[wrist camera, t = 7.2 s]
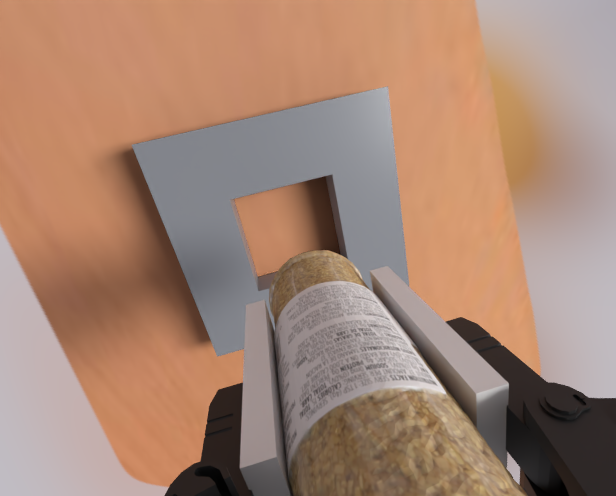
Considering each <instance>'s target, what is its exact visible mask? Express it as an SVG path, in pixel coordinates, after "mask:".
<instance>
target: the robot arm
mask: <svg viewBox="0 0 616 496" xmlns="http://www.w3.org/2000/svg"><path fill="white" fill-rule="evenodd" d="M370 275H371V281H372V288H373V293H374V294H375V295H376V296H378V298H379V299H380V300H381V301H382V302H383V304H384V305H385V306H386V308H387V309H388V310H389V311H390V313H391V314H392V315H393V316H394V318H395V319H396V320H397V322H398V323H399V324H400V325H401V327H402V328H403V329H404V331H405V332H406V333H407V334H408V336H409V337H410V338H411V340H412V341H413V342H414V343H415V345H416V346H417V347H418V348H419V350H420V352H421V355H422V356H423V357H424V359H425V360H426V362H427V363H428V365H429V366H430V367H431V368H432V370H433V371H434V373H435V374H436V375H437V376H438V378H439V379H440V380H441V382H442V383H443V385H444V386H445V388H446V389H447V391H448V392H449V393H450V394H451V395H452V396H453V398H454V399H455V400H456V401H457V402H458V403H459V405H460V406H461V407H462V410H463V411H464V412H465V413H466V414H467V415H468V416H469V418H470V419H471V421H472V422H473V424H474V425H475V427H476V428H477V430H478V431H479V433H480V434H481V436H482V437H483V438H484V439H485V441H486V442H487V444H488V446H489V447H490V448H491V449H492V450H493V452H494V453H495V454H496V456H497V457H498V458H499V459H500V461H501V462H502V463H503V465H504V466H505V467H507V451H508V452H509V454H510V455H511V456H512V458H513V459H514V460H515V461H516V462H517V464H518V465H519V466H520V486H521V487H522V488H523V489H524V491H525V492H526V494H527V495H528V496H616V398H588V397H587V396H585V395H584V394H583V393H581V392H579V391H577V390H575V389H573V388H571V387H568V386H565V385H561V384H557V383H548V382H546V381H545V380H544V379H542V378H541V377H540V376H539V375H538V374H537V373H535V372H534V371H533V370H532V369H531V368H529V367H528V366H527V365H526V364H525V363H523V362H522V361H521V360H520V359H519V358H517V357H516V356H515V355H514V354H513V353H511V352H510V351H509V350H508V349H507V348H506V347H504V346H502V345H501V343H500V342H498V341H497V340H496V339H495V338H494V337H491V336H490V334H489V333H488V332H486V331H485V330H484V329H483V328H482V327H480V326H479V325H478V324H476V323H474V322H471V321H469V320H467V319H465V318H462V317H460V318H457V319H453V320H450V321H446V322H445V321H444V320H443V319H442V318H441V317H440V316H439V315H438V314H437V313H436V312H434V311H433V310H432V309H431V308H430V307H429V306H428V305H427V304H426V303H425V302H424V301H423V300H422V299H421V298H420V297H419V296H418V295H417V294H416V293H415V292H414V291H413V290H412V289H411V288H410V287H409V286H408V285H407V284H406V283H405V282H403V281H402V280H401V279H400V278H399V277H398V276H397V275H396V274H395V273H394V272H393V271H392V270H391V269H390V268H389V267H388V266H385V267H382V268H378V269H375V270H371V271H370ZM274 333H275V331H274V328H273V325H272V322H271V318H270V315H269V312H268V309H267V305H266V302H265V300H262V301H258V302H255V303H251V304H248V305H246V318H245V344H244V370H243V383H240V384H236V385H233V386H230V387H226V388H223V389H219V390H218V391H217V393H216V395H215V397H214V398H213V400H212V402H211V404H210V406H209V412H208V419H207V425H206V431H205V438H204V444H203V450H202V456H201V462H198V463H195V464H193V465H192V466H190V467H189V468H187V469H186V470H184V471H183V472H181V474H180V475H179V476H178V477H177V478H176V479H175V480H174V481H173V483H172V484H171V485H170V487H169V488H168V490H167V492H166V494H165V496H293V494H292V491H291V488H290V485H289V481H288V471H287V461H286V451H285V441H284V431H283V421H282V412H281V403H280V393H279V384H278V374H277V364H276V355H275V345H274Z"/></svg>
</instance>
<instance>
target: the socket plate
mask: <svg viewBox="0 0 616 496" xmlns="http://www.w3.org/2000/svg"><path fill="white" fill-rule="evenodd" d="M132 147H133V150H134V152H135V155H136V157H137V159H138V162H139V164H140V167H141V169H142V172H143V174H144V177H145V179H146V182H147V184H148V187H149V189H150V192H151V194H152V196H153V199H154V201H155V204H156V206H157V209H158V211H159V214H160V216H161V219H162V221H163V224H164V226H165V229H166V231H167V233H168V236H169V238H170V241H171V243H172V246H173V248H174V251H175V253H176V256H177V258H178V261H179V263H180V266H181V268H182V270H183V273H184V275H185V278H186V280H187V283H188V285H189V288H190V290H191V293H192V295H193V298H194V300H195V303H196V305H197V307H198V310H199V312H200V315H201V317H202V320H203V322H204V325H205V327H206V330H207V332H208V335H209V337H210V340H211V342H212V344H213V347H214V349H215V352H216V354H217V356H221V355H224V354H228V353H231V352H235V351H238V350H242V349H244V344H245V318H246V305H248V304H251V303H255V302H258V301H262V300H265V302H266V305H267V309H268V312H269V315H270V318H271V322H272V325H273V328H274V331H275V323H274V317H273V315H272V313H271V310H270V303H269V289H270V286H271V283H272V281H273V279H274V276H275V274H276V273H277V272H275V273H271V274H267V275H263V276H260V277H258V276H257V273H256V270H255V266H254V263H253V260H252V257H251V253H250V250H249V247H248V244H247V240H246V237H245V234H244V231H243V227H242V224H241V221H240V218H239V214H238V211H237V208H236V205H235V201H234V199H235V198H239V197H243V196H247V195H251V194H255V193H259V192H263V191H267V190H271V189H275V188H279V187H283V186H287V185H291V184H295V183H299V182H303V181H307V180H311V179H315V178H319V177H324V176H326V181H327V186H328V192H329V197H330V202H331V207H332V213H333V218H334V223H335V228H336V233H337V239H338V244H339V249H340V254H341V255H342V256H344V257H345V258H347V259H348V260H349V261H351V262H352V263H353V264H354V266H355V267H356V268H357V269H358V270H359V272H360V274H361V276H362V279H363V281H364V282H365V284H366V285H367V286H368V288H369V289H370V290H371V291H372V292H373V288H372V281H371V275H370V271H371V270H375V269H378V268H382V267H385V266H388V267H389V268H390V269H391V270H392V271H393V272H394V273H395V274H396V275H397V276H398V277H399V278H400V279H401V280H402V281H403V282H405V283H406V284H407V285H408V286H409V279H408V270H407V261H406V251H405V242H404V233H403V223H402V214H401V205H400V195H399V186H398V177H397V168H396V158H395V149H394V140H393V130H392V121H391V112H390V102H389V93H388V86H387V87H383V88H379V89H374V90H370V91H366V92H361V93H357V94H352V95H348V96H344V97H339V98H335V99H330V100H326V101H322V102H317V103H313V104H309V105H304V106H300V107H295V108H291V109H287V110H282V111H278V112H274V113H269V114H265V115H260V116H256V117H252V118H247V119H243V120H239V121H234V122H230V123H225V124H221V125H217V126H212V127H208V128H203V129H199V130H195V131H190V132H186V133H182V134H177V135H173V136H168V137H164V138H160V139H155V140H151V141H147V142H142V143H138V144H133V145H132Z"/></svg>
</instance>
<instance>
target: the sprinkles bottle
mask: <svg viewBox="0 0 616 496" xmlns="http://www.w3.org/2000/svg"><path fill="white" fill-rule="evenodd" d="M269 303H270V310H271V313H272V315H273V317H274V323H275V333H274V345H275V355H276V364H277V374H278V384H279V393H280V403H281V412H282V421H283V431H284V441H285V451H286V461H287V471H288V481H289V485H290V488H291V491H292V494H293V496H528V495H527V494H526V492H525V491H524V489H523V488H522V487H521V486H520V485H519V484H518V483H517V482H515V481H514V479H513V477H512V475H511V474H510V472H509V471H508V470H507V469H506V467H505V466H504V465H503V463H502V462H501V461H500V459H499V458H498V457H497V456H496V454H495V453H494V452H493V450H492V449H491V448H490V447H489V446H488V444H487V442H486V441H485V439H484V438H483V437H482V436H481V434H480V433H479V431H478V430H477V428H476V427H475V425H474V424H473V422H472V421H471V419H470V418H469V416H468V415H467V414H466V413H465V412H464V411H463V410H462V407H461V406H460V405H459V403H458V402H457V401H456V400H455V399H454V398H453V396H452V395H451V394H450V393H449V392H448V391H447V389H446V388H445V386H444V385H443V383H442V382H441V380H440V379H439V378H438V376H437V375H436V374H435V373H434V371H433V370H432V368H431V367H430V366H429V365H428V363H427V362H426V360H425V359H424V357H423V356H422V355H421V352H420V350H419V348H418V347H417V346H416V345H415V343H414V342H413V341H412V340H411V338H410V337H409V336H408V334H407V333H406V332H405V331H404V329H403V328H402V327H401V325H400V324H399V323H398V322H397V320H396V319H395V318H394V316H393V315H392V314H391V313H390V311H389V310H388V309H387V308H386V306H385V305H384V304H383V302H382V301H381V300H380V299H379V298H378V296H376V295H375V294H374V293H373V292H372V291H371V290H370V289H369V288H368V286H367V285H366V284H365V282H364V281H363V279H362V276H361V274H360V272H359V270H358V269H357V268H356V267H355V266H354V264H353V263H352V262H351V261H349V260H348V259H347V258H345V257H344V256H342V255H339V254H337V253H334V252H331V251H328V250H320V251H309V252H304V253H301V254H299V255H297V256H295V257H293V258H290V259H289V260H288V261H287V262H286V263H285V264H284V265H282V267H281V268H280V269H279V271H278V272H277V273H276V274H275V276H274V279H273V281H272V283H271V286H270V289H269Z"/></svg>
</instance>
